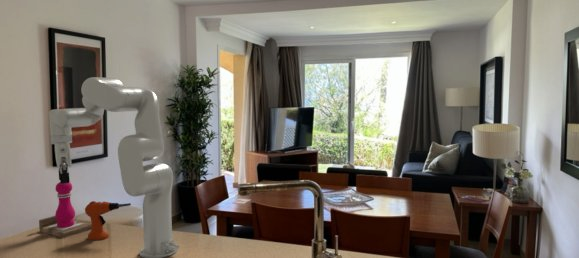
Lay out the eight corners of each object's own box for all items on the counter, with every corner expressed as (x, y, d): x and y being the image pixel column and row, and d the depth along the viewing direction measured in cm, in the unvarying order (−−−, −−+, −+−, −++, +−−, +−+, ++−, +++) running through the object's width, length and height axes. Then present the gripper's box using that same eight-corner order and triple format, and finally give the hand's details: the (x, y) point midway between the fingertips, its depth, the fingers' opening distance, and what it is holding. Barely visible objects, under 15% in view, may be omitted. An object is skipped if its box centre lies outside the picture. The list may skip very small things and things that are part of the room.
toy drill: (132, 236, 153) (126, 198, 152) (85, 242, 155) (79, 204, 153) (138, 232, 158) (132, 195, 157) (92, 237, 159) (86, 200, 158)
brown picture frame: (91, 228, 167) (91, 217, 167) (64, 237, 157) (63, 225, 156) (67, 223, 175) (66, 212, 174) (39, 231, 164) (38, 220, 164)
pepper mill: (51, 227, 162) (48, 179, 161) (64, 222, 170) (61, 175, 168) (67, 228, 161) (65, 179, 160) (79, 223, 168) (77, 176, 167)
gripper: (73, 140, 157) (76, 183, 158) (70, 137, 172) (72, 177, 173) (51, 141, 153) (54, 186, 154) (50, 138, 168) (52, 179, 169)
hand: (64, 181), depth 164 cm, fingers open, 9 cm apart
